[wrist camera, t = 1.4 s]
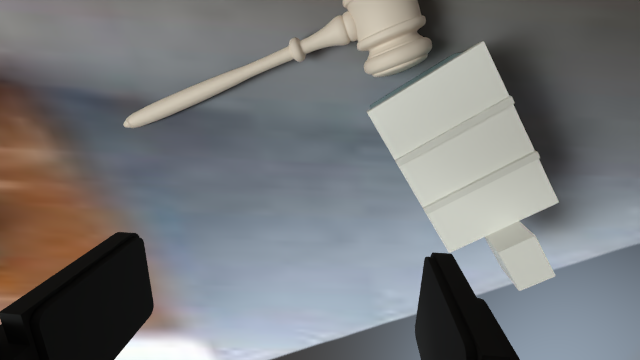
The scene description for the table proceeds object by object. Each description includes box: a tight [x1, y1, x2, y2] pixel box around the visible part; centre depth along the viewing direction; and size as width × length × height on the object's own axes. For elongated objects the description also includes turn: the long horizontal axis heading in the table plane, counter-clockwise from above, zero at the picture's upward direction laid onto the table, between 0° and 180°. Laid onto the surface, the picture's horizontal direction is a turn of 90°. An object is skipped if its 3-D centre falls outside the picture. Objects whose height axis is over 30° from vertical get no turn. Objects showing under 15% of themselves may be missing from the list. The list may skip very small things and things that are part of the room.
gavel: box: [124, 0, 432, 128], centre depth 31 cm, size 10×6×32 cm
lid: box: [367, 41, 559, 291], centre depth 26 cm, size 10×19×4 cm, turn 32°
